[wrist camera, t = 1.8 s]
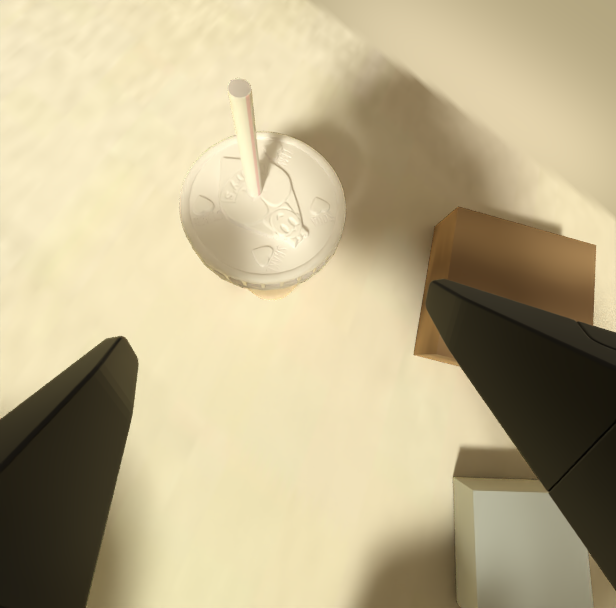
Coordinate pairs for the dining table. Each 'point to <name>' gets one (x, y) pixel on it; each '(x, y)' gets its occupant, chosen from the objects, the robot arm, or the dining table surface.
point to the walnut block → (507, 270)
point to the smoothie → (262, 206)
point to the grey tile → (516, 548)
